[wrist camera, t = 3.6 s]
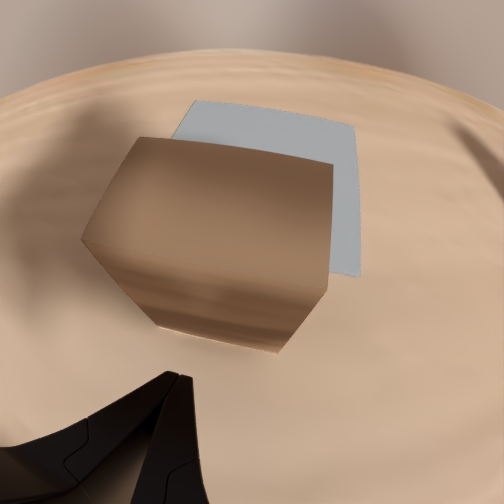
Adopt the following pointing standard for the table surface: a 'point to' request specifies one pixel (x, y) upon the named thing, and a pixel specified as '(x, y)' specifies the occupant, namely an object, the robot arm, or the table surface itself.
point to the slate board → (295, 144)
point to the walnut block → (217, 238)
